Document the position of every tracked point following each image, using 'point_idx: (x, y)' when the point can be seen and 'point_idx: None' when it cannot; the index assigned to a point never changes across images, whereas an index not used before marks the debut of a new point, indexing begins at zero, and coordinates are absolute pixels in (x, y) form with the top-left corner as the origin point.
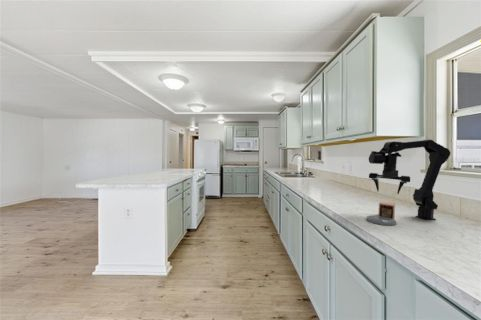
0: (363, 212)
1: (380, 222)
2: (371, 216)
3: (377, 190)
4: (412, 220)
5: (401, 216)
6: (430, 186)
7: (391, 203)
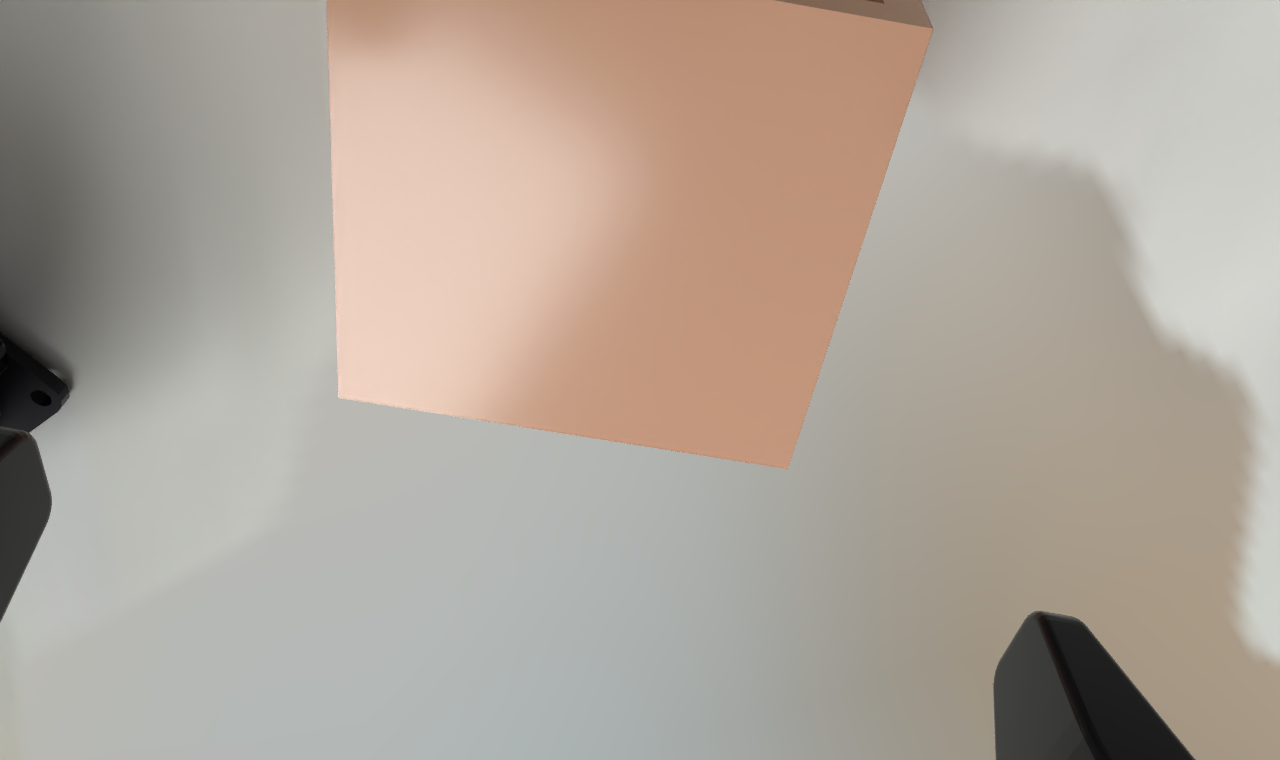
0: (1177, 215)
1: None
2: None
3: (1103, 660)
4: (50, 26)
5: (311, 288)
6: None
7: (450, 261)
